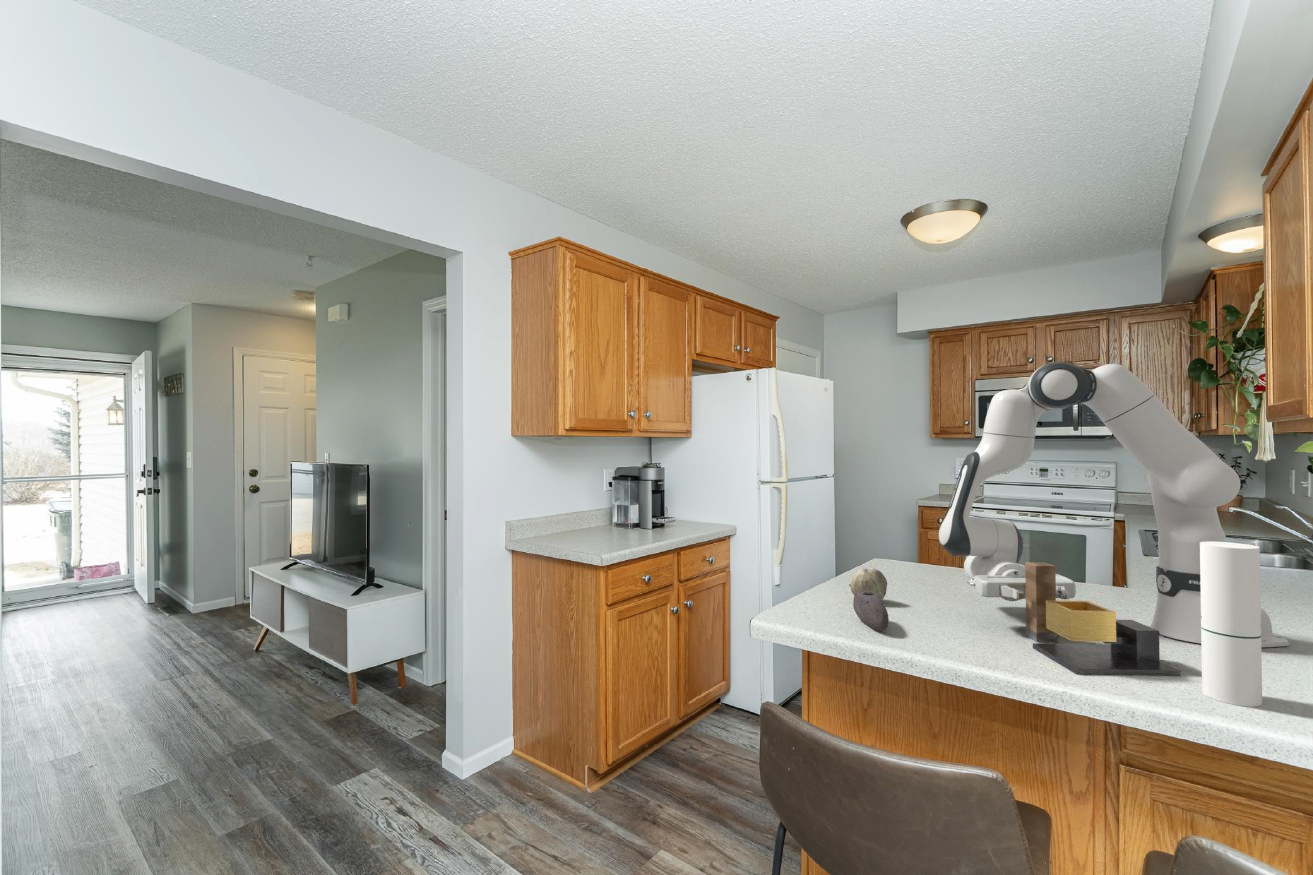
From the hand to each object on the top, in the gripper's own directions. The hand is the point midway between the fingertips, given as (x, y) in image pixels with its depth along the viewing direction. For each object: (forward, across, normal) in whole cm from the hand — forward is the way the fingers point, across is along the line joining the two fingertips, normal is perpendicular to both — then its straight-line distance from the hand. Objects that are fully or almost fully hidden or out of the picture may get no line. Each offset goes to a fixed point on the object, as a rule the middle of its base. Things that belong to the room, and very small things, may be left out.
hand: (1042, 595), depth 128 cm
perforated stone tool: (-9, -33, +10) cm, 36 cm away
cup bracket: (+12, +4, +10) cm, 16 cm away
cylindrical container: (+28, +14, +10) cm, 33 cm away
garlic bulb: (-31, -28, +10) cm, 43 cm away
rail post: (-1, 0, +10) cm, 10 cm away
